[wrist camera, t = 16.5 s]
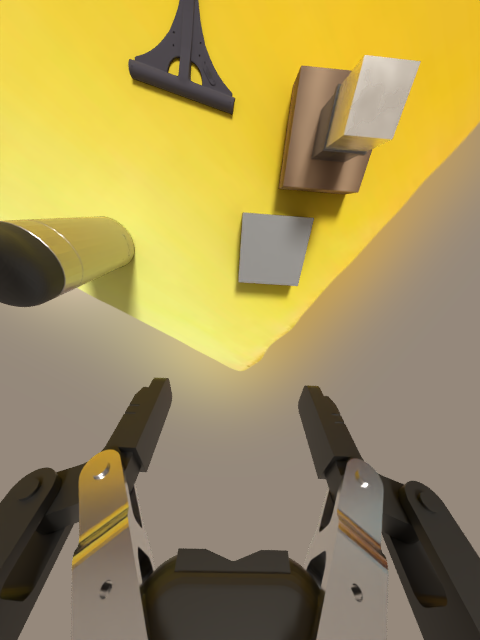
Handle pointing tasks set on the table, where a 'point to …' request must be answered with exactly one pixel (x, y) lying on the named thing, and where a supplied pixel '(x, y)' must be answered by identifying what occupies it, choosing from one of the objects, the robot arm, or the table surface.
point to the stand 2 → (301, 131)
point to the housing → (364, 108)
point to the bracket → (184, 62)
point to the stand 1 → (273, 248)
